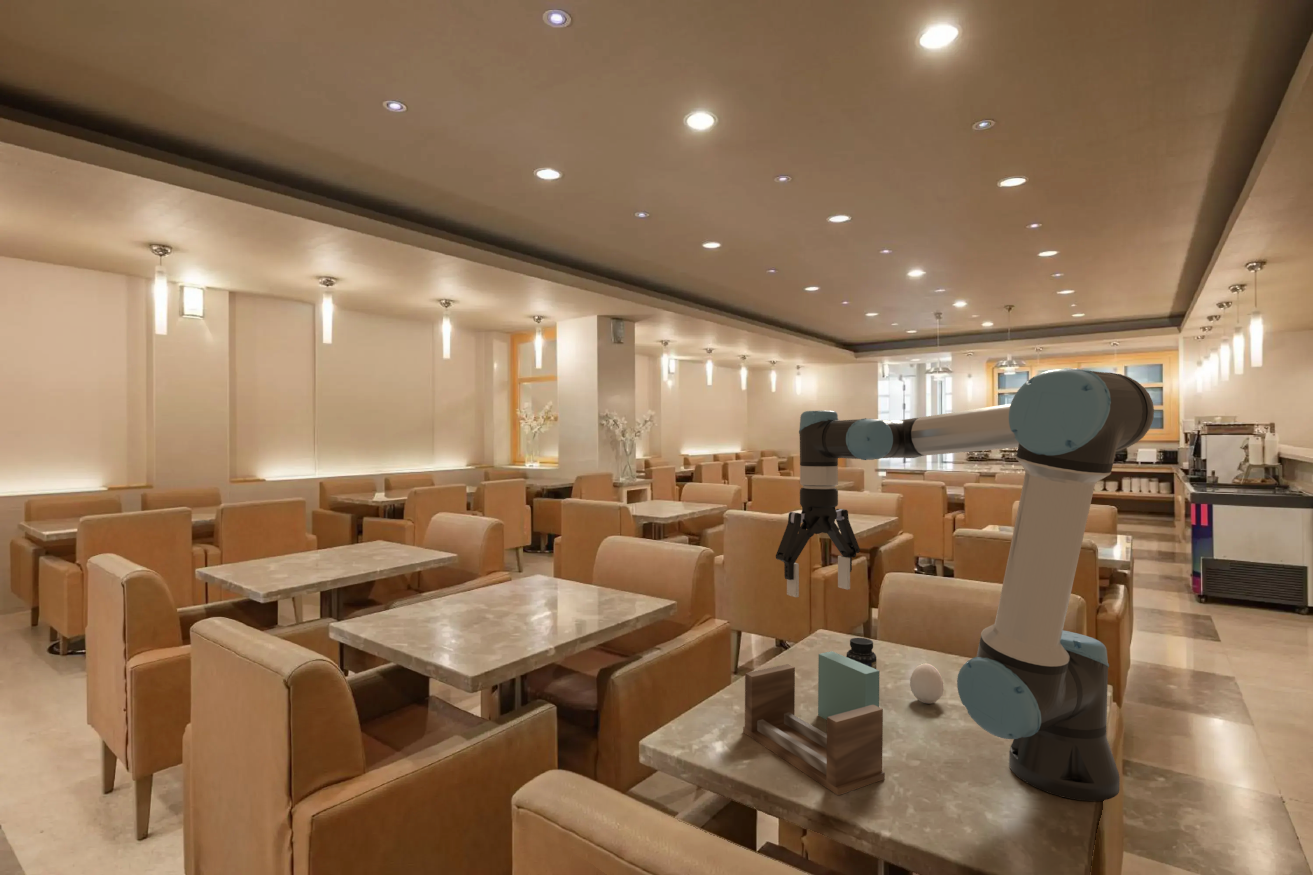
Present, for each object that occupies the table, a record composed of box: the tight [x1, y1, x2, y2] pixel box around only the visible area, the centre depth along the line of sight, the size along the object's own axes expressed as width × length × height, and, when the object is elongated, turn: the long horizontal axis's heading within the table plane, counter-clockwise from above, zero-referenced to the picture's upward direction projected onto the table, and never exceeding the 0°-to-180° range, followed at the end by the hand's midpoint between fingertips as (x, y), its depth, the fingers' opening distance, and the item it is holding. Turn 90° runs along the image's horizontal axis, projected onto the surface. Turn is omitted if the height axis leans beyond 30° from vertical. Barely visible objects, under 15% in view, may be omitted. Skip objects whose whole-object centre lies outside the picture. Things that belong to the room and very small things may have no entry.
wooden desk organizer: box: [742, 663, 886, 796], centre depth 114 cm, size 24×10×11 cm, turn 29°
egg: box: [909, 662, 945, 705], centre depth 135 cm, size 6×6×8 cm
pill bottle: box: [845, 637, 877, 669], centre depth 140 cm, size 6×6×11 cm
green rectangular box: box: [817, 650, 880, 721], centre depth 125 cm, size 12×4×12 cm, turn 29°
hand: (819, 592), depth 134 cm, fingers open, 13 cm apart
